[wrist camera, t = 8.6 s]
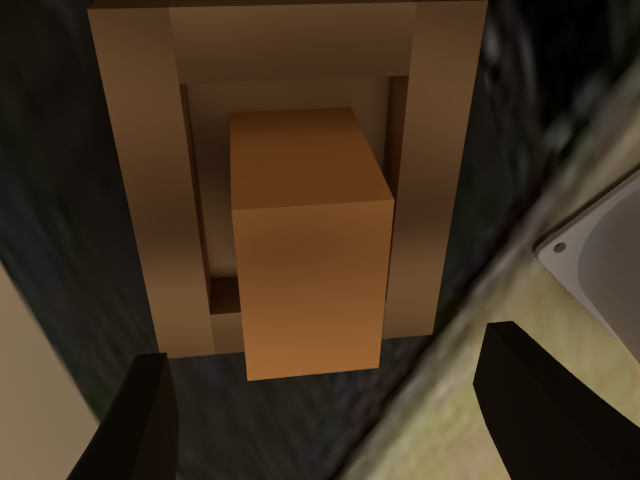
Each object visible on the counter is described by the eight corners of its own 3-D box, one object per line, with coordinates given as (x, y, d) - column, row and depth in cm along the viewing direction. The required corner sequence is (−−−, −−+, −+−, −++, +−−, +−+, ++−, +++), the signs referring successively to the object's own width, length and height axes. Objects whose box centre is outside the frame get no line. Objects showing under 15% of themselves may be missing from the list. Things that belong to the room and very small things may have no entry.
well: (103, -12, 16) (86, 9, 14) (457, -19, 18) (487, 0, 16) (166, 314, 24) (161, 359, 22) (415, 293, 25) (432, 334, 23)
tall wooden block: (229, 112, 19) (231, 210, 14) (351, 107, 19) (394, 199, 14) (242, 260, 22) (247, 380, 17) (345, 253, 23) (378, 367, 18)
